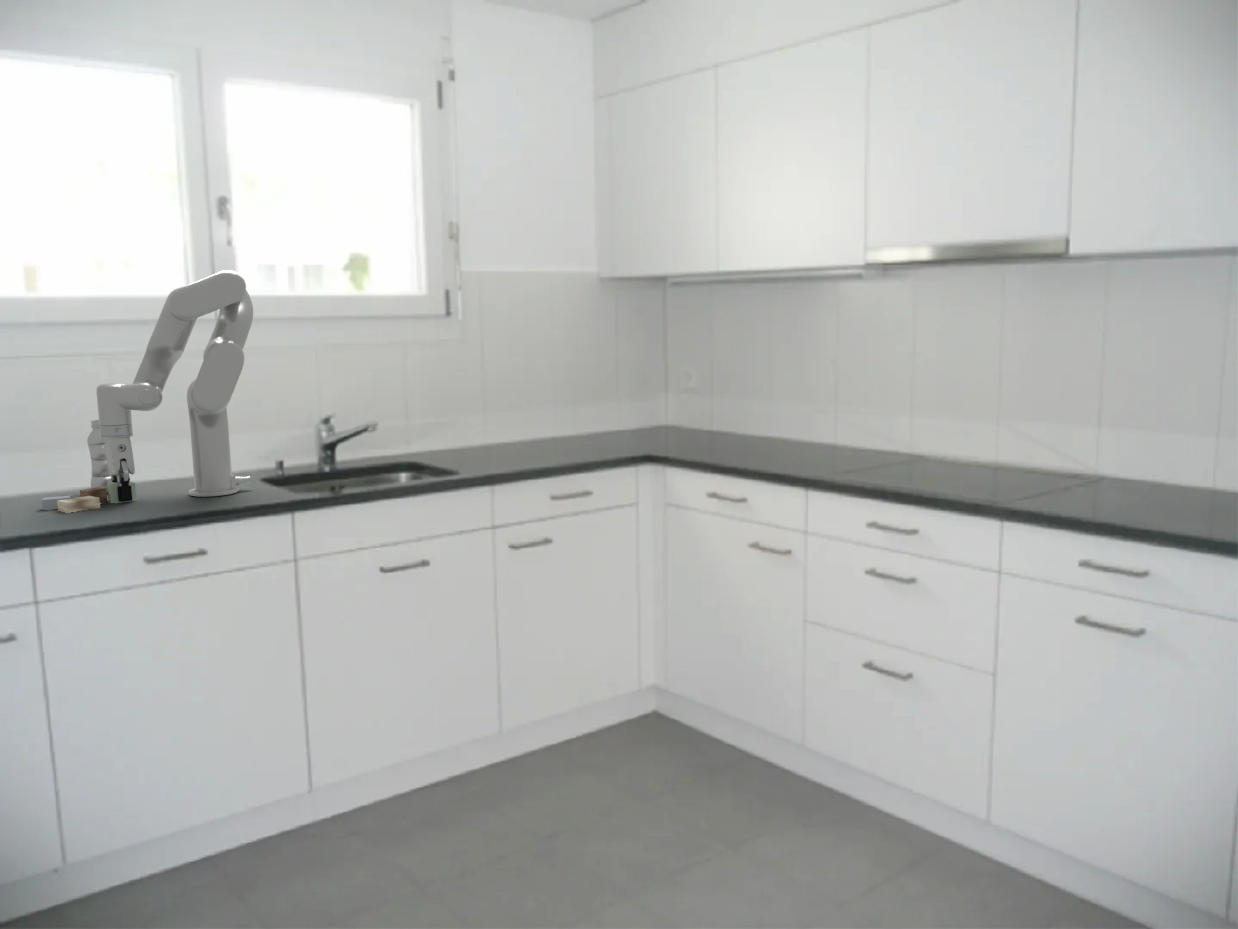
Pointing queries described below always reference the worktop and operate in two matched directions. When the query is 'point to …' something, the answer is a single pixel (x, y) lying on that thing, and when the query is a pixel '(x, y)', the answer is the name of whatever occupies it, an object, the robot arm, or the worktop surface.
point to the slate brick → (52, 502)
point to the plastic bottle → (98, 457)
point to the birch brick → (78, 504)
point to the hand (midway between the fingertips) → (122, 498)
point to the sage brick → (114, 492)
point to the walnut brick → (95, 493)
